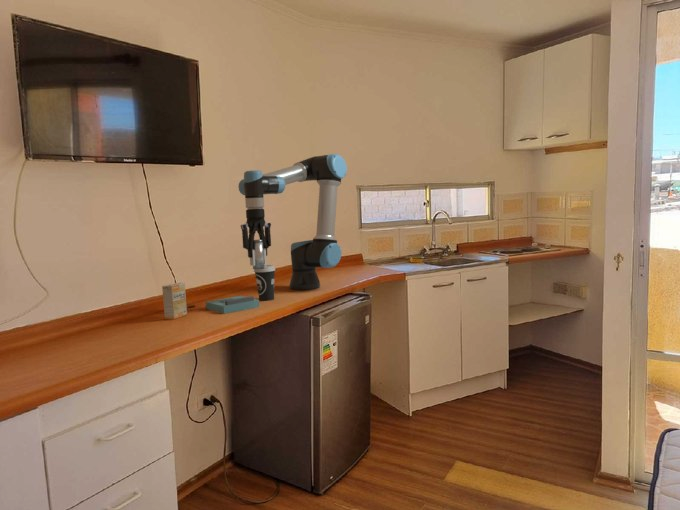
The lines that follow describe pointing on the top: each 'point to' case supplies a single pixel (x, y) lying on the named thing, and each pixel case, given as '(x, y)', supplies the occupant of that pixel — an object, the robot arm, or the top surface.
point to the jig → (232, 304)
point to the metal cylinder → (258, 254)
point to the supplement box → (174, 300)
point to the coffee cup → (265, 282)
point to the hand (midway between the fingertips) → (258, 264)
